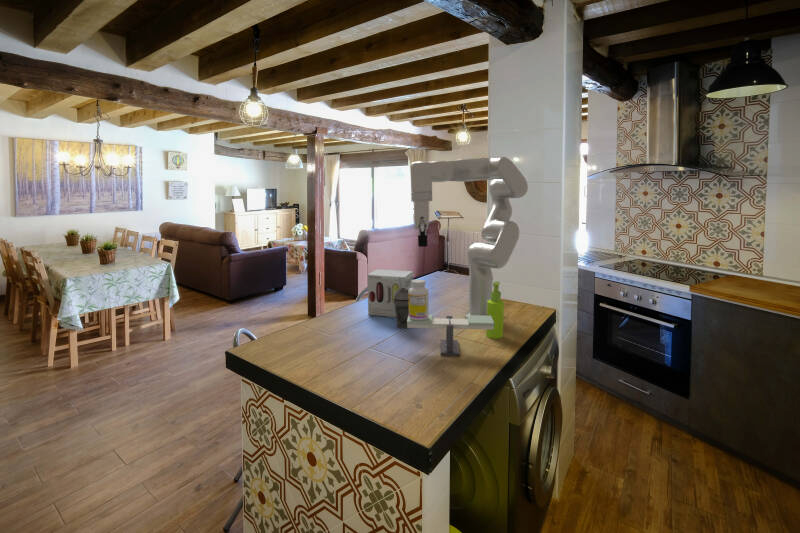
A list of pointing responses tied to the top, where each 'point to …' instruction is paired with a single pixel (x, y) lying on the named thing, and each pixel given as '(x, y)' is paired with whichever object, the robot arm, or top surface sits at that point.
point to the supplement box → (386, 290)
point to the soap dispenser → (495, 313)
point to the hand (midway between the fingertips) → (422, 244)
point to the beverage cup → (401, 306)
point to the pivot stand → (449, 342)
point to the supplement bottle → (418, 300)
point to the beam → (454, 322)
